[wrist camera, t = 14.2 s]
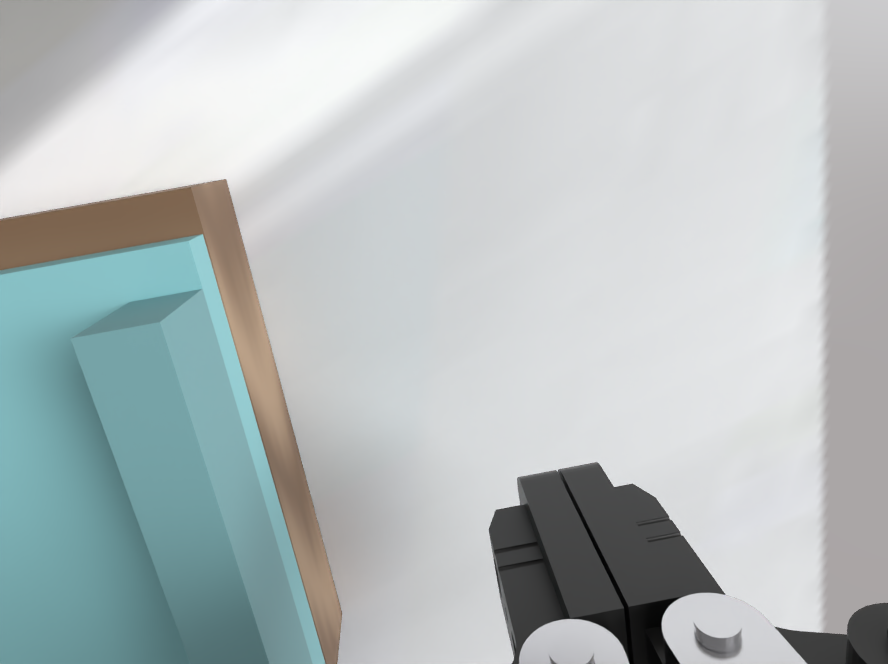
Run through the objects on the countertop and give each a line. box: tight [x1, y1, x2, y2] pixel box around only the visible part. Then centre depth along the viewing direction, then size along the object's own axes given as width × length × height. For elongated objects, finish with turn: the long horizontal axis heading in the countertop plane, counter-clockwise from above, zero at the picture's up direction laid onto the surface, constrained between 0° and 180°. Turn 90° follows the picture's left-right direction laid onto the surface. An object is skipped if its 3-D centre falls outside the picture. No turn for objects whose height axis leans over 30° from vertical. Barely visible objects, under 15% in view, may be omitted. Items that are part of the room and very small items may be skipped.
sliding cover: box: [0, 234, 325, 664], centre depth 13 cm, size 12×10×4 cm
